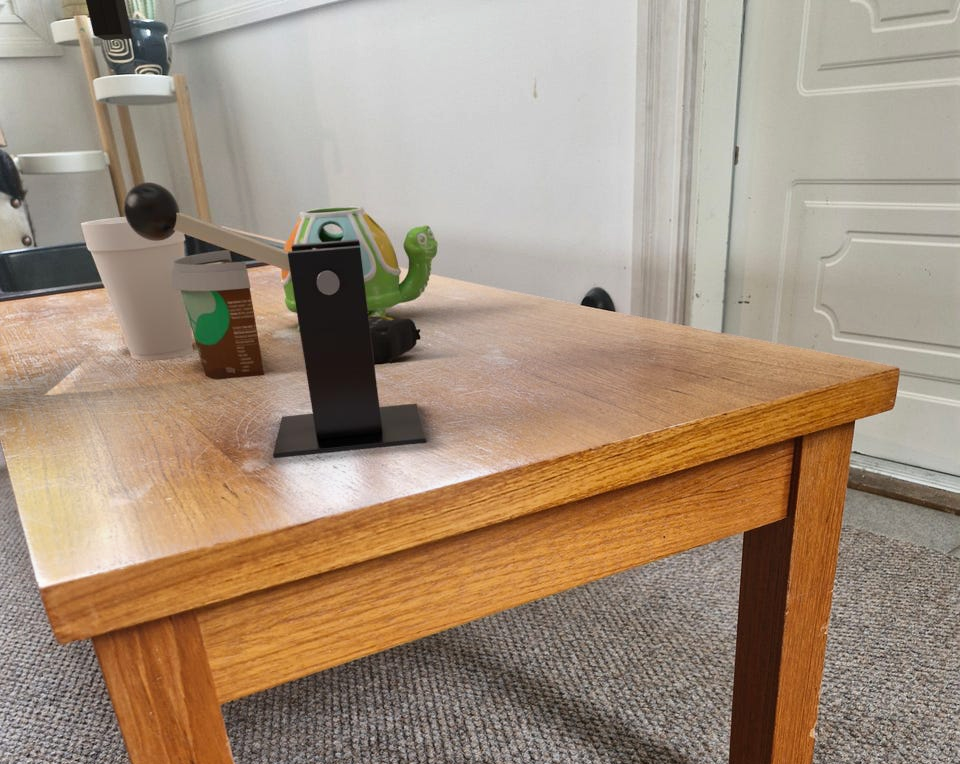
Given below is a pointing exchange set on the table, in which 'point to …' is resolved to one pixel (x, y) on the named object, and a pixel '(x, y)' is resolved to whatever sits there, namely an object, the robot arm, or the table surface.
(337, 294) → the bracket
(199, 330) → the food container
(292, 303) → the turtle holder
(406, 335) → the tape measure
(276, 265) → the lever
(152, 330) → the foam cup
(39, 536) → the table surface
